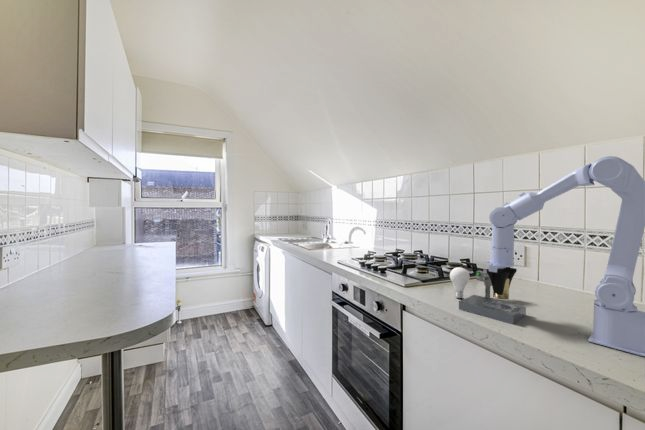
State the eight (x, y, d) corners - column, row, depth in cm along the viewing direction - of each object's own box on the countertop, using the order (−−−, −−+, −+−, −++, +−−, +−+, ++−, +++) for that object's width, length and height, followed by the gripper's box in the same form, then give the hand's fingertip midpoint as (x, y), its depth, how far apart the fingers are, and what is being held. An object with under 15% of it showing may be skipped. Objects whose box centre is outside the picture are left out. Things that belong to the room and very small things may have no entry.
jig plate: (525, 315, 86) (526, 306, 86) (513, 324, 79) (513, 315, 79) (473, 302, 98) (473, 294, 98) (458, 309, 91) (458, 301, 91)
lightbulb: (460, 302, 98) (460, 270, 97) (445, 296, 103) (445, 266, 103) (473, 299, 100) (474, 268, 100) (457, 294, 106) (458, 265, 106)
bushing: (510, 297, 86) (511, 277, 86) (505, 300, 84) (506, 279, 84) (496, 294, 89) (496, 275, 89) (490, 297, 87) (491, 277, 87)
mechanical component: (473, 297, 102) (474, 270, 102) (494, 295, 106) (494, 268, 106) (480, 300, 100) (481, 271, 99) (501, 297, 103) (502, 269, 103)
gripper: (496, 244, 94) (495, 285, 94) (478, 248, 85) (476, 293, 85) (522, 246, 88) (520, 290, 89) (505, 251, 79) (503, 300, 80)
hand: (501, 292), depth 87 cm, fingers closed on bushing, 4 cm apart
